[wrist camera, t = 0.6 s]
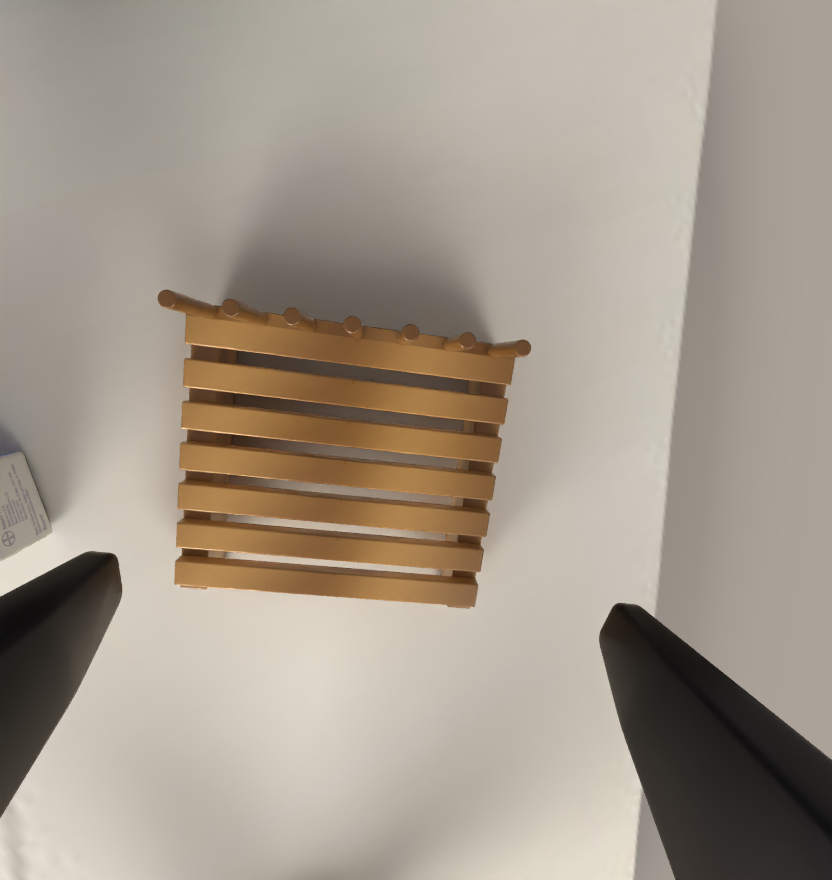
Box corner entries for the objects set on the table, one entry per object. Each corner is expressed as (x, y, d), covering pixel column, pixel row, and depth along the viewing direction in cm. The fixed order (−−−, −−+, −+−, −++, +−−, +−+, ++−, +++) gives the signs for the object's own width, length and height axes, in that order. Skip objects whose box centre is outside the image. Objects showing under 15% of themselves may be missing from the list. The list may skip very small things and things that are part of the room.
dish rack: (497, 349, 23) (552, 343, 16) (460, 583, 25) (494, 673, 18) (215, 310, 22) (133, 284, 14) (201, 563, 24) (124, 651, 16)
